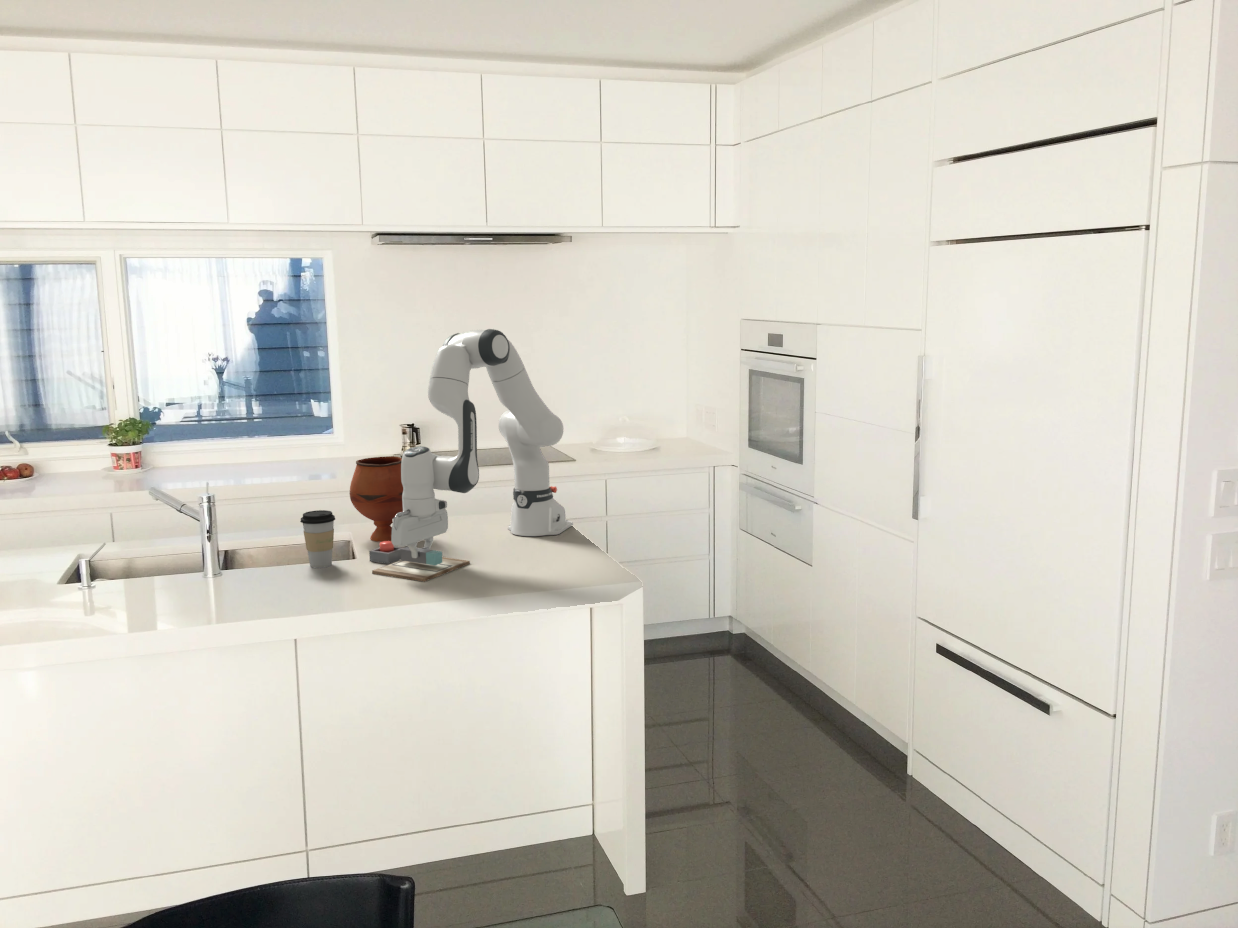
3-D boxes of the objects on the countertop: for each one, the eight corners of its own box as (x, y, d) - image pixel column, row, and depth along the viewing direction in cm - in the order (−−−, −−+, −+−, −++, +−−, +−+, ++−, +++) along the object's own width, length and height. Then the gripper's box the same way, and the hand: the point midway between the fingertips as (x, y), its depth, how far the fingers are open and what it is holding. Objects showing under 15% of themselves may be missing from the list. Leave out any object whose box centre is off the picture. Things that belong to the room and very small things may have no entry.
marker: (400, 560, 280) (400, 549, 280) (408, 557, 283) (407, 546, 283) (434, 565, 275) (434, 554, 274) (442, 562, 277) (441, 551, 277)
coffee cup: (325, 570, 278) (321, 517, 275) (296, 568, 281) (292, 515, 278) (344, 562, 287) (341, 510, 284) (316, 559, 290) (313, 508, 287)
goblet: (341, 544, 307) (336, 464, 302) (370, 530, 325) (365, 453, 321) (399, 547, 302) (395, 465, 298) (425, 532, 321) (421, 455, 317)
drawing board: (419, 556, 292) (419, 553, 292) (469, 563, 284) (469, 560, 283) (372, 573, 275) (372, 570, 275) (424, 581, 266) (423, 578, 266)
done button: (386, 549, 291) (386, 540, 291) (397, 550, 289) (396, 541, 289) (376, 552, 288) (376, 543, 287) (387, 553, 286) (387, 545, 285)
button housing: (386, 555, 294) (385, 545, 293) (405, 558, 290) (404, 548, 290) (369, 561, 287) (369, 550, 287) (388, 563, 284) (388, 553, 284)
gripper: (402, 515, 266) (405, 565, 268) (451, 500, 283) (452, 548, 286) (384, 513, 269) (387, 563, 271) (433, 498, 286) (435, 546, 289)
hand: (421, 555), depth 279 cm, fingers closed on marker, 3 cm apart
